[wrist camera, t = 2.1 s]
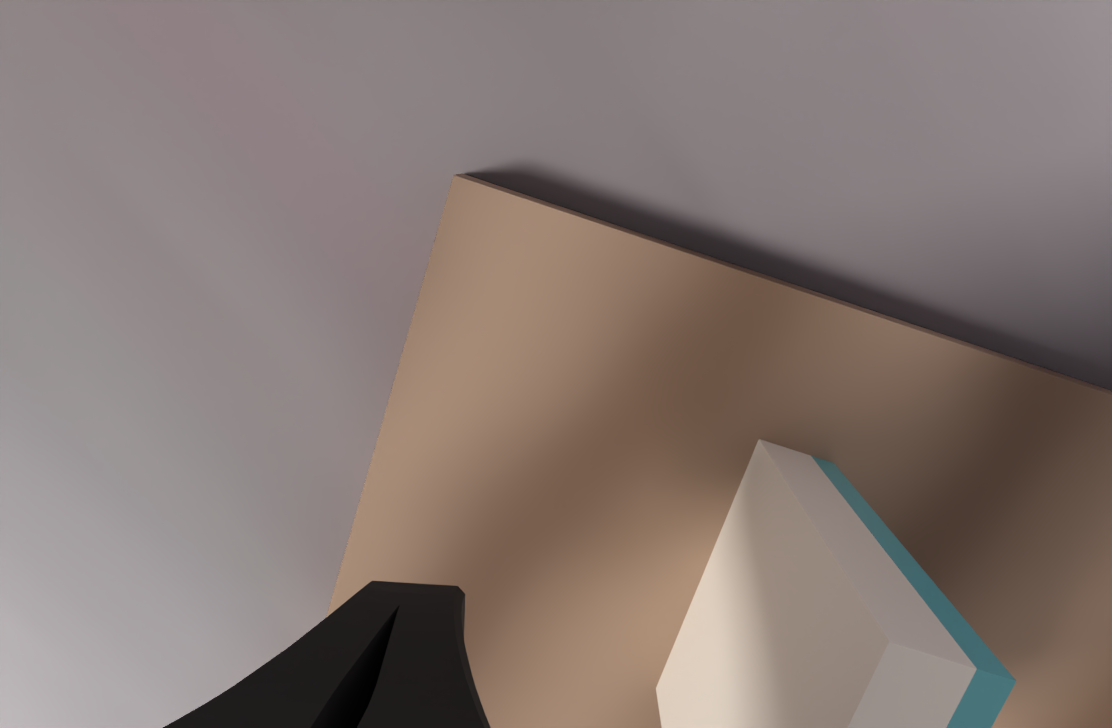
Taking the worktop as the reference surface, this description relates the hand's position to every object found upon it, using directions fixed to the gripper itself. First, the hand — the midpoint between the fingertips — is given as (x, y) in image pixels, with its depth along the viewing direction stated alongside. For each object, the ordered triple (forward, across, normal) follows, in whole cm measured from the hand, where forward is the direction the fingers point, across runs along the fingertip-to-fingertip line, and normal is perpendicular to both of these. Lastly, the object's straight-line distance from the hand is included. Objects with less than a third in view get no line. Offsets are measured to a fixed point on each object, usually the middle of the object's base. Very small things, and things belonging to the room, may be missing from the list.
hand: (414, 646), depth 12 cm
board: (+6, -8, +4) cm, 11 cm away
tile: (+5, -6, +2) cm, 8 cm away
